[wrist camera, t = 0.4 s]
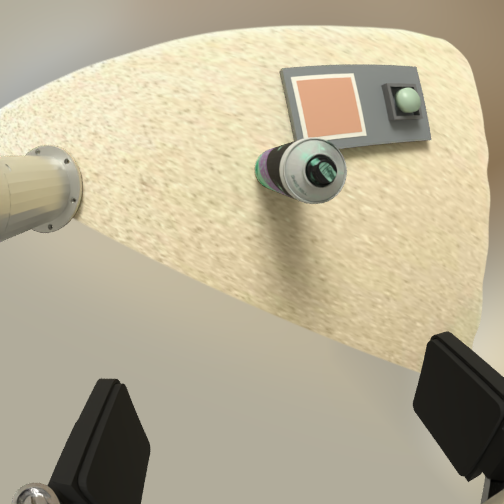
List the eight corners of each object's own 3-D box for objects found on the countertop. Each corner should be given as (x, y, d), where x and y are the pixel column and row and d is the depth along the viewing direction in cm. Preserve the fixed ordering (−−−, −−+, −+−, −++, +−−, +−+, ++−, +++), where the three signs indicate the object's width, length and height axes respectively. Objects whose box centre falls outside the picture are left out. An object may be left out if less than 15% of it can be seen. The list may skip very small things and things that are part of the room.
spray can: (259, 144, 40) (299, 123, 20) (299, 155, 40) (368, 147, 21) (250, 184, 41) (281, 198, 22) (289, 193, 42) (350, 217, 23)
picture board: (297, 155, 40) (303, 154, 37) (279, 71, 37) (284, 64, 34) (425, 140, 42) (437, 139, 39) (411, 68, 38) (421, 64, 35)
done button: (397, 113, 37) (403, 112, 36) (392, 89, 36) (398, 87, 35) (416, 112, 38) (422, 111, 36) (411, 89, 37) (417, 87, 35)
